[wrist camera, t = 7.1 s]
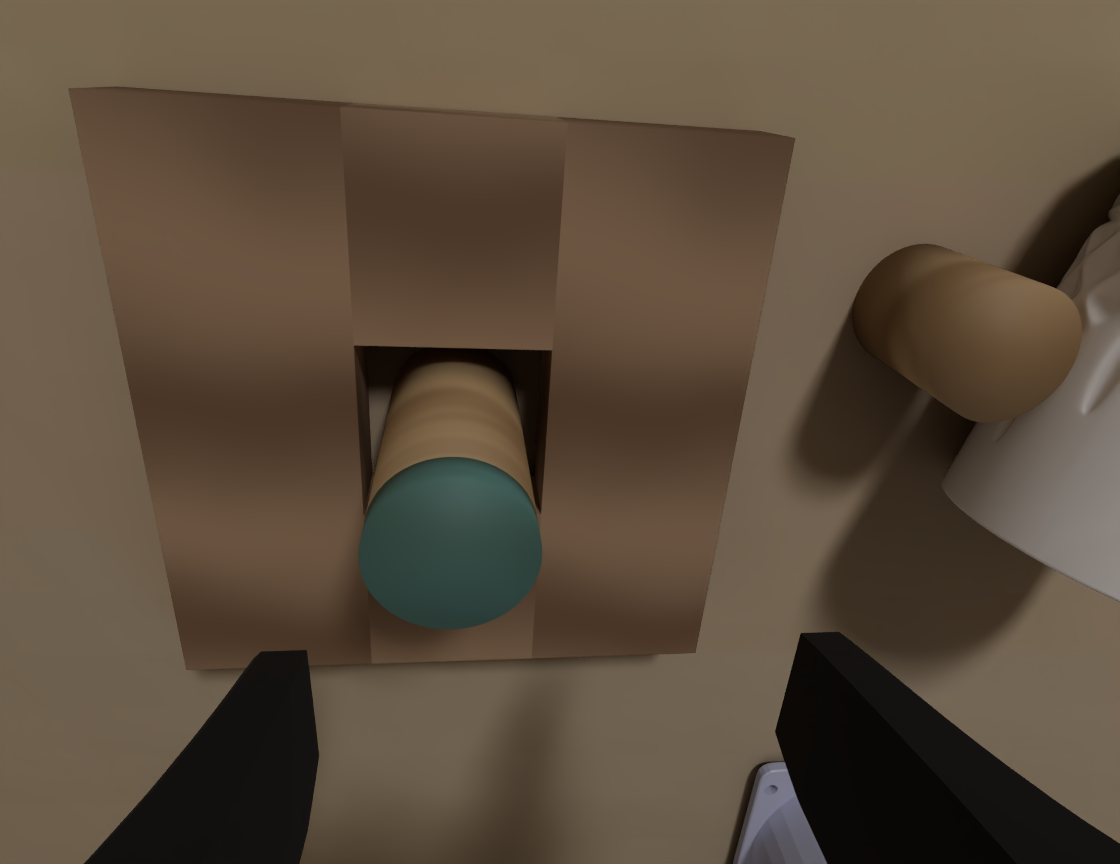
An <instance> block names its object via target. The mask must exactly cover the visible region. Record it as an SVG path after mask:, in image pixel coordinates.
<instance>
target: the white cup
mask: <svg viewBox="0 0 1120 864" xmlns="http://www.w3.org/2000/svg"><path fill="white" fill-rule="evenodd" d="M1108 215H1109V220H1110V221H1109V222H1107V223H1105V224H1103V225H1101V226H1099V227H1097V228H1096V229H1095V230H1094V231H1093V232H1092V233H1091V234H1090V236H1089V237H1088V238H1087V240H1086V241H1085V243H1084V244H1083V246H1082V248H1081V249H1080V251H1079V253H1078V255H1077V257H1076V258H1075V260H1074V262H1073V263H1072V265H1071V266H1070V268H1069V269H1068V271H1067V272H1066V274H1065V275H1064V277H1063V278H1062V280H1061V282H1060V283H1059V285H1058V287H1057V288H1056V289H1058V290H1060V291H1062V292H1063V293H1065V294H1066V295H1067V296H1068V297H1069V298H1070V299H1071V300H1072V301H1073V303H1074V304H1075V306H1076V307H1077V310H1078V312H1079V314H1080V319H1081V323H1082V339H1081V344H1080V349H1079V352H1078V355H1077V358H1076V360H1075V362H1074V365H1073V367H1072V369H1071V370H1070V372H1069V374H1068V375H1067V377H1066V378H1065V379H1064V381H1063V382H1062V384H1061V385H1060V386H1059V387H1058V388H1057V389H1056V391H1055V392H1054V393H1052V394H1051V395H1050V396H1049V397H1048V398H1047V399H1046V400H1045V401H1043V402H1042V403H1041V404H1040V405H1038V406H1037V407H1035V408H1034V409H1032V410H1030V411H1028V412H1027V413H1025V414H1023V415H1020V416H1018V417H1016V418H1013V419H1009V420H1006V421H1001V422H995V423H982V422H976V424H975V425H974V427H973V429H972V430H971V432H970V434H969V435H968V437H967V439H966V440H965V442H964V444H963V445H962V447H961V449H960V450H959V452H958V454H957V456H956V457H955V459H954V461H953V462H952V464H951V466H950V467H949V469H948V471H947V472H946V474H945V476H944V477H943V479H942V482H941V485H942V488H943V490H944V492H945V494H946V495H947V496H948V497H949V499H950V500H951V501H952V502H953V503H954V504H955V505H956V506H957V507H958V508H960V509H961V510H962V511H963V512H964V513H965V514H967V515H968V516H969V517H970V518H972V519H973V520H974V521H976V522H977V523H978V524H980V525H981V526H983V527H984V528H985V529H987V530H988V531H990V532H991V533H993V534H994V535H996V536H997V537H999V538H1000V539H1002V540H1004V541H1005V542H1007V543H1008V544H1010V545H1012V546H1013V547H1015V548H1017V549H1018V550H1020V551H1022V552H1023V553H1025V554H1027V555H1028V556H1030V557H1032V558H1034V559H1035V560H1037V561H1039V562H1041V563H1043V564H1044V565H1046V566H1048V567H1050V568H1052V569H1054V570H1055V571H1057V572H1059V573H1061V574H1063V575H1065V576H1067V577H1069V578H1071V579H1073V580H1075V581H1077V582H1079V583H1081V584H1083V585H1085V586H1087V587H1089V588H1091V589H1093V590H1095V591H1097V592H1099V593H1101V594H1103V595H1105V596H1107V597H1109V598H1112V599H1114V600H1116V601H1118V602H1120V194H1119V195H1118V197H1117V199H1116V201H1115V202H1114V204H1113V206H1112V208H1111V209H1110V211H1109V213H1108Z"/></svg>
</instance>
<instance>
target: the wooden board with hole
mask: <svg viewBox="0 0 1120 864" xmlns="http://www.w3.org/2000/svg"><path fill="white" fill-rule="evenodd" d="M68 89H69V94H70V99H71V103H72V108H73V113H74V118H75V123H76V128H77V133H78V138H79V143H80V148H81V153H82V158H83V163H84V168H85V173H86V177H87V182H88V187H89V192H90V197H91V202H92V207H93V212H94V217H95V222H96V227H97V232H98V237H99V242H100V246H101V251H102V256H103V261H104V266H105V271H106V276H107V281H108V286H109V291H110V296H111V301H112V306H113V311H114V316H115V320H116V325H117V330H118V335H119V340H120V345H121V350H122V355H123V360H124V365H125V370H126V375H127V380H128V385H129V390H130V394H131V399H132V404H133V409H134V414H135V419H136V424H137V429H138V434H139V439H140V444H141V449H142V454H143V459H144V463H145V468H146V473H147V478H148V483H149V488H150V493H151V498H152V503H153V508H154V513H155V518H156V523H157V528H158V533H159V537H160V542H161V547H162V552H163V557H164V562H165V567H166V572H167V577H168V582H169V587H170V592H171V597H172V602H173V607H174V611H175V616H176V621H177V626H178V631H179V636H180V641H181V646H182V651H183V656H184V661H185V666H186V670H200V669H230V668H247V666H248V665H249V664H250V662H251V661H252V659H253V658H254V657H255V656H257V655H258V654H259V653H260V652H261V651H289V650H307V655H308V664H309V666H321V665H351V664H381V663H411V662H441V661H471V660H501V659H531V658H561V657H591V656H621V655H651V654H681V653H695V652H696V647H697V642H698V637H699V631H700V626H701V621H702V616H703V611H704V606H705V601H706V595H707V590H708V585H709V580H710V575H711V570H712V564H713V559H714V554H715V549H716V544H717V539H718V534H719V528H720V523H721V518H722V513H723V508H724V503H725V498H726V492H727V487H728V482H729V477H730V472H731V467H732V461H733V456H734V451H735V446H736V441H737V436H738V431H739V425H740V420H741V415H742V410H743V405H744V400H745V394H746V389H747V384H748V379H749V374H750V369H751V364H752V358H753V353H754V348H755V343H756V338H757V333H758V327H759V322H760V317H761V312H762V307H763V302H764V297H765V291H766V286H767V281H768V276H769V271H770V266H771V260H772V255H773V250H774V245H775V240H776V235H777V230H778V224H779V219H780V214H781V209H782V204H783V199H784V194H785V188H786V183H787V178H788V173H789V168H790V163H791V157H792V152H793V147H794V142H795V138H792V137H787V136H782V135H777V134H772V133H767V132H762V131H750V130H736V129H721V128H707V127H692V126H678V125H663V124H649V123H634V122H620V121H605V120H591V119H576V118H562V117H547V116H533V115H519V114H504V113H490V112H475V111H461V110H446V109H432V108H417V107H403V106H388V105H374V104H359V103H345V102H330V101H316V100H302V99H287V98H273V97H258V96H244V95H229V94H215V93H200V92H186V91H171V90H157V89H142V88H128V87H93V88H68ZM366 346H398V347H438V348H478V349H518V350H542V358H541V374H540V391H539V407H538V423H537V440H536V456H535V473H534V476H530V478H531V483H532V489H533V495H534V501H535V507H536V513H537V519H538V524H539V530H540V536H541V542H542V564H541V568H540V571H539V574H538V577H537V579H536V581H535V583H534V585H533V587H532V588H531V590H530V591H529V593H528V594H527V595H526V596H525V597H524V599H523V600H522V601H521V602H520V603H519V604H517V605H516V606H515V607H514V608H513V609H511V610H510V611H509V612H507V613H505V614H504V615H502V616H500V617H499V618H496V619H494V620H492V621H490V622H487V623H484V624H481V625H478V626H474V627H469V628H462V629H434V628H428V627H423V626H419V625H416V624H413V623H410V622H408V621H405V620H403V619H401V618H399V617H397V616H396V615H394V614H392V613H391V612H389V611H388V610H387V609H385V608H384V607H383V606H382V605H381V604H380V603H379V602H378V601H377V600H376V599H375V598H374V597H373V595H372V594H371V593H370V591H369V590H368V588H367V586H366V585H365V583H364V580H363V578H362V575H361V572H360V567H359V555H358V552H359V545H360V539H361V535H362V530H363V525H364V521H365V516H366V512H367V507H368V502H369V498H370V493H371V488H372V484H373V479H374V475H372V458H371V438H370V418H369V397H368V377H367V357H366Z"/></svg>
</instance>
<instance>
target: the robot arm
mask: <svg viewBox="0 0 1120 864" xmlns="http://www.w3.org/2000/svg"><path fill="white" fill-rule="evenodd" d="M775 733H776V736H777V739H778V742H779V745H780V748H781V752H782V755H783V758H784V761H785V762H773V763H767V764H765V765H763V766H762V767H761V768H759V770H758V772H757V774H756V778H755V782H754V786H753V789H752V793H751V797H750V801H749V804H748V808H747V812H746V816H745V819H744V823H743V827H742V831H741V834H740V838H739V842H738V846H737V849H736V853H735V857H734V861H733V864H1120V844H1119V843H1118V842H1116V841H1115V840H1113V839H1112V838H1110V837H1109V836H1107V835H1106V834H1104V833H1102V832H1101V831H1099V830H1098V829H1096V828H1095V827H1093V826H1092V825H1090V824H1089V823H1087V822H1086V821H1084V820H1083V819H1081V818H1080V817H1078V816H1077V815H1075V814H1074V813H1072V812H1071V811H1070V810H1068V809H1067V808H1065V807H1064V806H1062V805H1061V804H1059V803H1058V802H1057V801H1055V800H1054V799H1052V798H1051V797H1050V796H1048V795H1047V794H1045V793H1044V792H1043V791H1041V790H1040V789H1039V788H1037V787H1036V786H1034V785H1033V784H1032V783H1030V782H1029V781H1028V780H1026V779H1025V778H1023V777H1022V776H1021V775H1019V774H1018V773H1017V772H1015V771H1014V770H1012V769H1011V768H1010V767H1008V766H1007V765H1006V764H1004V763H1003V762H1002V761H1000V760H999V759H998V758H996V757H995V756H994V755H993V754H991V753H990V752H989V751H987V750H986V749H985V748H983V747H982V746H981V745H979V744H978V743H977V742H976V741H974V740H973V739H972V738H970V737H969V736H968V735H967V734H965V733H964V732H963V731H962V730H960V729H959V728H958V727H956V726H955V725H954V724H953V723H951V722H950V721H949V720H948V719H946V718H945V717H944V716H943V715H941V714H940V713H939V712H938V711H936V710H935V709H934V708H933V707H932V706H930V705H929V704H928V703H927V702H925V701H924V700H923V699H922V698H920V697H919V696H918V695H917V694H916V693H914V692H913V691H912V690H911V689H909V688H908V687H907V686H906V685H905V684H903V683H902V682H901V681H900V680H898V679H897V678H896V677H895V676H894V675H892V674H891V673H890V672H889V671H888V670H886V669H885V668H884V667H883V666H881V665H880V664H879V663H878V662H877V661H875V660H874V659H873V658H872V657H870V656H869V655H868V654H867V653H865V652H864V651H863V650H862V649H860V648H859V647H858V646H857V645H855V644H854V643H853V642H852V641H850V640H849V639H848V638H846V637H845V636H844V635H842V634H841V633H840V632H822V633H801V634H800V638H799V642H798V646H797V650H796V654H795V657H794V661H793V665H792V669H791V673H790V677H789V681H788V684H787V688H786V692H785V696H784V700H783V704H782V707H781V711H780V715H779V719H778V723H777V727H776V730H775ZM318 759H319V751H318V742H317V733H316V724H315V716H314V707H313V698H312V690H311V681H310V672H309V664H308V655H307V650H289V651H261V652H260V653H259V654H258V655H257V656H255V657H254V658H253V659H252V661H251V662H250V664H249V665H248V666H247V668H246V669H245V671H244V672H243V673H242V675H241V676H240V677H239V679H238V680H237V681H236V683H235V684H234V686H233V687H232V688H231V690H230V691H229V692H228V694H227V695H226V696H225V698H224V699H223V700H222V702H221V703H220V704H219V705H218V707H217V708H216V709H215V711H214V712H213V713H212V715H211V716H210V717H209V718H208V720H207V721H206V722H205V724H204V725H203V726H202V727H201V729H200V730H199V731H198V733H197V734H196V735H195V736H194V738H193V739H192V740H191V741H190V742H189V744H188V745H187V746H186V747H185V749H184V750H183V751H182V752H181V753H180V755H179V756H178V757H177V758H176V759H175V761H174V762H173V763H172V764H171V766H170V767H169V768H168V769H167V770H166V772H165V773H164V774H163V775H162V777H161V778H160V779H159V780H158V781H157V783H156V784H155V785H154V786H153V787H152V788H151V790H150V791H149V792H148V793H147V794H146V795H145V797H144V798H143V799H142V800H141V801H140V802H139V803H138V804H137V806H136V807H135V808H134V809H133V810H132V811H131V812H130V813H129V814H128V816H127V817H126V818H125V819H124V820H123V821H122V822H121V823H120V825H119V826H118V827H117V828H116V829H115V830H114V831H113V832H112V833H111V835H110V836H109V837H108V838H107V839H106V840H105V841H104V842H103V843H102V845H101V846H100V847H99V848H98V849H97V850H96V851H95V852H94V853H93V855H92V856H91V857H90V858H89V859H88V860H87V861H86V862H85V863H84V864H299V862H300V859H301V855H302V851H303V847H304V843H305V839H306V835H307V831H308V825H309V819H310V812H311V806H312V800H313V793H314V787H315V780H316V773H317V766H318Z"/></svg>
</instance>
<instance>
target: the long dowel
mask: <svg viewBox="0 0 1120 864" xmlns="http://www.w3.org/2000/svg"><path fill="white" fill-rule="evenodd" d="M358 555H359V567H360V572H361V575H362V578H363V580H364V583H365V585H366V586H367V588H368V590H369V591H370V593H371V594H372V595H373V597H374V598H375V599H376V600H377V601H378V602H379V603H380V604H381V605H382V606H383V607H384V608H385V609H387V610H388V611H389V612H391V613H392V614H394V615H396V616H397V617H399V618H401V619H403V620H405V621H408V622H410V623H413V624H416V625H419V626H423V627H428V628H434V629H462V628H469V627H474V626H478V625H481V624H484V623H487V622H490V621H492V620H494V619H496V618H499V617H500V616H502V615H504V614H505V613H507V612H509V611H510V610H511V609H513V608H514V607H515V606H516V605H517V604H519V603H520V602H521V601H522V600H523V599H524V597H525V596H526V595H527V594H528V593H529V591H530V590H531V588H532V587H533V585H534V583H535V581H536V579H537V577H538V574H539V571H540V568H541V564H542V542H541V536H540V530H539V524H538V519H537V513H536V507H535V501H534V495H533V489H532V483H531V478H530V472H529V466H528V460H527V454H526V448H525V443H524V437H523V431H522V425H521V419H520V413H519V407H518V402H517V396H516V390H515V385H514V382H513V379H512V377H511V375H510V373H509V371H508V369H507V368H506V367H505V365H504V364H503V363H502V362H501V361H500V360H499V359H498V358H497V357H496V356H495V355H493V354H492V353H491V352H489V351H487V350H486V349H478V348H438V347H426V348H424V349H422V350H420V351H418V352H417V353H415V354H414V355H413V356H412V357H411V358H409V359H408V360H407V362H406V363H405V364H404V365H403V366H402V368H401V369H400V371H399V373H398V375H397V377H396V380H395V383H394V387H393V391H392V396H391V400H390V405H389V410H388V414H387V419H386V424H385V428H384V433H383V437H382V442H381V447H380V451H379V456H378V461H377V465H376V470H375V475H374V479H373V484H372V488H371V493H370V498H369V502H368V507H367V512H366V516H365V521H364V525H363V530H362V535H361V539H360V545H359V552H358Z"/></svg>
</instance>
